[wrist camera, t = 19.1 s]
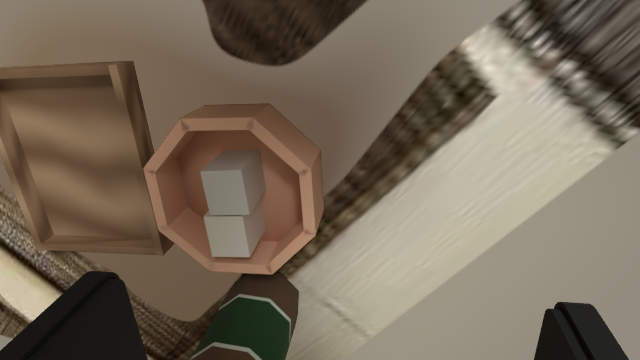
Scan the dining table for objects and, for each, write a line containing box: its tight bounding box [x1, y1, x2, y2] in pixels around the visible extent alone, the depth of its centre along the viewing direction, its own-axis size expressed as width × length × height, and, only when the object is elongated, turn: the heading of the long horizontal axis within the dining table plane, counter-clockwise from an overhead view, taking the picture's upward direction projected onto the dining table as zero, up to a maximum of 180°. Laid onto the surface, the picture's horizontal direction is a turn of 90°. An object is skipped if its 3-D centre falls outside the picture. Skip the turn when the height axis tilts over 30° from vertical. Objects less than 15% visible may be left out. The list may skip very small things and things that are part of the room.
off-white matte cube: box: [200, 149, 266, 215], centre depth 35 cm, size 4×4×5 cm
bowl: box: [143, 104, 324, 274], centre depth 37 cm, size 15×15×5 cm
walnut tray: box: [0, 61, 174, 255], centre depth 40 cm, size 19×15×2 cm
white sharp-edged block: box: [203, 198, 266, 257], centre depth 37 cm, size 4×4×5 cm
